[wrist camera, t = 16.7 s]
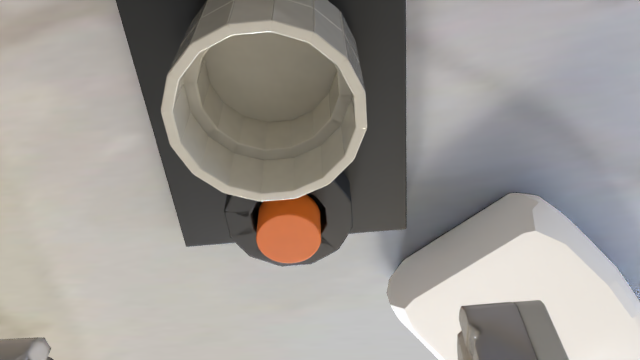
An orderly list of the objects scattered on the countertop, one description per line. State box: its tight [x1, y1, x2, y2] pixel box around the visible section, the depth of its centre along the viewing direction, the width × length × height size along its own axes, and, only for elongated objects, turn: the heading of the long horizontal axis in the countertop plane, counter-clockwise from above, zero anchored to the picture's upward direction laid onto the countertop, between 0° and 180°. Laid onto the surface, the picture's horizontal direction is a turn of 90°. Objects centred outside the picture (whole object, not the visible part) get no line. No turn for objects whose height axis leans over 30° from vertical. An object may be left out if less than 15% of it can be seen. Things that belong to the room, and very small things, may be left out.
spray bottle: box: [387, 193, 640, 360], centre depth 35 cm, size 3×11×24 cm
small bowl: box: [161, 0, 367, 202], centre depth 22 cm, size 7×7×5 cm
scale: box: [116, 0, 406, 266], centre depth 25 cm, size 14×11×3 cm
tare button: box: [256, 195, 321, 263], centre depth 26 cm, size 3×3×2 cm
